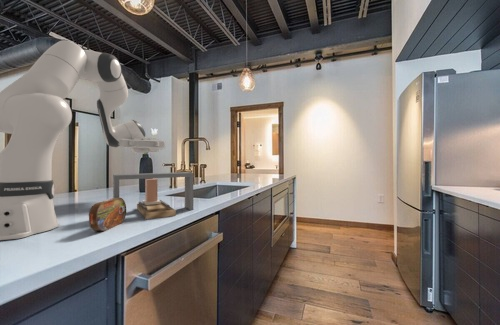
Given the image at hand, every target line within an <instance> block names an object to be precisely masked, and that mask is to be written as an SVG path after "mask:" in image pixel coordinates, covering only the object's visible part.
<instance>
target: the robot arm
mask: <svg viewBox="0 0 500 325" xmlns="http://www.w3.org/2000/svg"><path fill="white" fill-rule="evenodd" d="M122 69H123V68H122V64H121V63H120V61H119V59H118V58H117V57H116V56H115V55H113V54H111V53H107V52H101V51H94V50H89V49H83V48H82V47H81V46H80V45H79V44H77V43H76V42H74V41H70V40H66V39H64V40H59V41H58V42H55V43H54V44H53V45H51V46H50V47H49V48H47V49H46V51H44V52H43V53H42V54H41V56H40V57H39V58H37V60H36V61H35V62H34V64H32V66H31V67H30V68H29V69H28V70H27V71H26V72H25V73H24V74H23V75H21V77H19V78H17V79H15V81H13V82H11V83H10V84H9V85H7V86H6V87H5V88H4V89H3V90H0V133H3V134H10V135H11V136H10V139H9V141H8V143H7V145H6V146H5V147H4V148H3V149H2V150H1V151H0V241H4V240H5V241H6V240H8V241H9V240H15V239H16V240H17V239H23V238H26V237H30V236H33V235H35V234H39V233H44V232H47V231H50V230H53V229H56V228H58V227H59V226H60V223H59V221H58V219H57V218H58V217H57V215H56V211H55V205H54V200H53V199H54V197H55V184H54V180H53V179H52V176H53V175H52V174H53V173H52V172H53V171H52V170H53V168H52V167H53V155H54V149H55V146H56V143H57V141H58V139H59V137H60V135H61V133H62V132H63V131H64V130H65V129H66V128H67V127H68V126H69V125H70V124H71V122H72V119H73V113H72V109H71V107H70V105H69V104H68V103H67V101H65V99H66V98H68V96H70V93H71V92H72V90H74V88H75V86H76V85H77V83H78V82H79V80H82V81H83V80H84V81H90V82H96V84H97V87H98V89H99V98H98V99H97V101H96V108H97V113H98V118H99V120H100V121H99V122H100V125H101V130H102V136H103V140H104V142H105V143H106V145H107V146H109V147H113V148H118V147H120V148H121V149H122V148H123V149H125V148H126V149H129V150H130V151H131V152H132V153H133V154H135V155H137V154H138V155H139V154H140V155H141V154H142V155H143V154H147V153H151V152H152V153H153V152H155V153H156V152H160V151H161V150H164V149H166V141H165V140H161V139H160V138H153V137H148V136H146V131H145V128H143V126H142V125H141V124H140V122H138V121H136V120H135V119H131V120H127V121H124V122H123V123H120V124H117V125H115V126H113V123H112V120H111V116H112V113H113V112H114V111H115V110H116V109H118V108H119V107H120V106H122V105H123V104H124V103H126V100H127V99H128V97H129V89H128V85H127V83H126V80H125V77H124V75H123V73H122V72H123V71H122Z"/></svg>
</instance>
